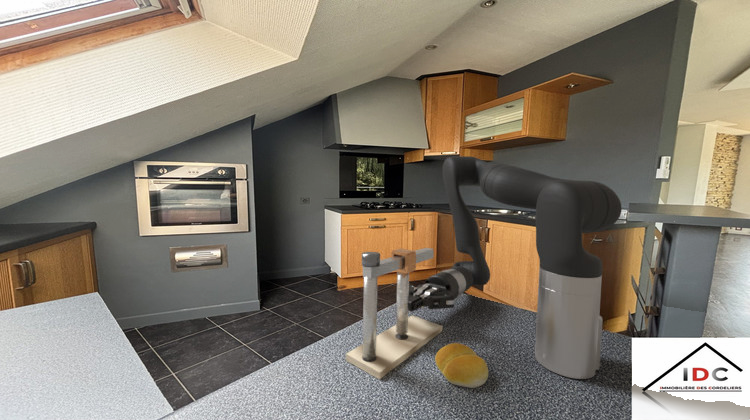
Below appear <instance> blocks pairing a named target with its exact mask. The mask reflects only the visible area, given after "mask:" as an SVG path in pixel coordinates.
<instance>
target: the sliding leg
mask: <svg viewBox="0 0 750 420" xmlns="http://www.w3.org/2000/svg"><path fill="white" fill-rule="evenodd" d="M415 251H416V250H413V249H412V250H411V249H406V248H405V249H404V248H397V249H394V250H391V254H390V257H394V256H398V255H402V256H405V267H404V268H401V269H398V270H395V271H394V272H396V310H395V311H396V315H395V317H396V319H395V325H396V332H397V333H398V334H399V335H400V336H404V334H406V333H408V317H409V311H408V302H409V284H410V273H412V272H415V271H416V269H417V263H416V253H415Z"/></svg>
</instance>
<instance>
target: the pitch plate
mask: <svg viewBox="0 0 750 420" xmlns="http://www.w3.org/2000/svg"><path fill="white" fill-rule="evenodd" d="M442 332H443V325H441V324H438V323H435V322H432V321H429V320H426V319H424V318H421V317H418V316H416V315H410V316H408V333H406V334H404V336H400V335H399V334H398V333H397V332H396V324H394V325H393V326H391V327H389V328H388V329H386V330H385V331H383V332H381V333H379V334H377V339H376V359H375V360H373V361H366V360H364V359H363V343H362V344H360V345H359V346H357V347H355V348H354V349H351V350H350V351H348V352H347V353H345V361H346V362H348V363H350V364H351V365H353V366H355V367H357V368H359V369H361V370H362V371H364V372H365V373H367V374H369V375H371V376H373V377H374V378H377V379H378V380H381V379H382V378H383V377H385V376H386V375H387V374H388V373H390V372H392V371H393V370H394V369H395V368H396V367H398V366H399V365H400V364H402V362H403V363H404V361H406V360H407V359H408V358H409V357H410V356H412V355H413V354H415V353H416V352H417V351H418V350H420V349H421V348H422V347H424V346H425V345H426V344H427V343H429V342H430V341H431V340H433V339H434V338H435V337H437V336H438V335H440V333H442Z"/></svg>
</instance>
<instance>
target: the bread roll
mask: <svg viewBox="0 0 750 420" xmlns="http://www.w3.org/2000/svg"><path fill="white" fill-rule="evenodd" d="M434 360H435V364H436V367H437V368H438V370H439V371H440V373H441V374H442V375H443V376H444V378H445V380H446V381H448V382H449V383H450V384H452V385H455V386H458V387H464V388H468V389H475V388H479V387H480V386H483V385H484V384H485V383H486V382H487V380H488V377H489V368H488V365H487V362H486V361H485V360H484V358H482V357H481V356H478V355H477V353H476V352H475V351H474V350H473V349H472V348H471V347H470V346H469V345H466V344H464V343H463V344H462V343H460V342H458V343H457V342H453V343H449V344H446V345H444V346H443V347H441V348H440V349H439V350H438V351H437V352H436V353H435V357H434Z"/></svg>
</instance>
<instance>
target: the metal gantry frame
mask: <svg viewBox="0 0 750 420" xmlns="http://www.w3.org/2000/svg"><path fill="white" fill-rule="evenodd" d="M414 251H415V253H416V264H419V263H422V262H425V261H428V260H431V259H434V248H429V247H424V248H420V249H416V250H414ZM361 267H362V277H363V304H362V305H363V310H362V311H363V315H362V316H363V317H362V319H363V320H362V321H363V322H362V326H363V327H362V336H363V337H362V344H363V359H364V360H366V361H373V360H375V359H376V339H377V335H378V334H377V332H378V331H377V330H378V329H377V327H378V326H377V324H378V277H380V276H383V275H386V274H389V273H392V272H396V271H395V270H398V269H401V268H404V267H405V256H402V255H398V256H394V257H391V256H390V257H388V258H383V259H381V253H380V252H377V251H364V252H362V253H361Z"/></svg>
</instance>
